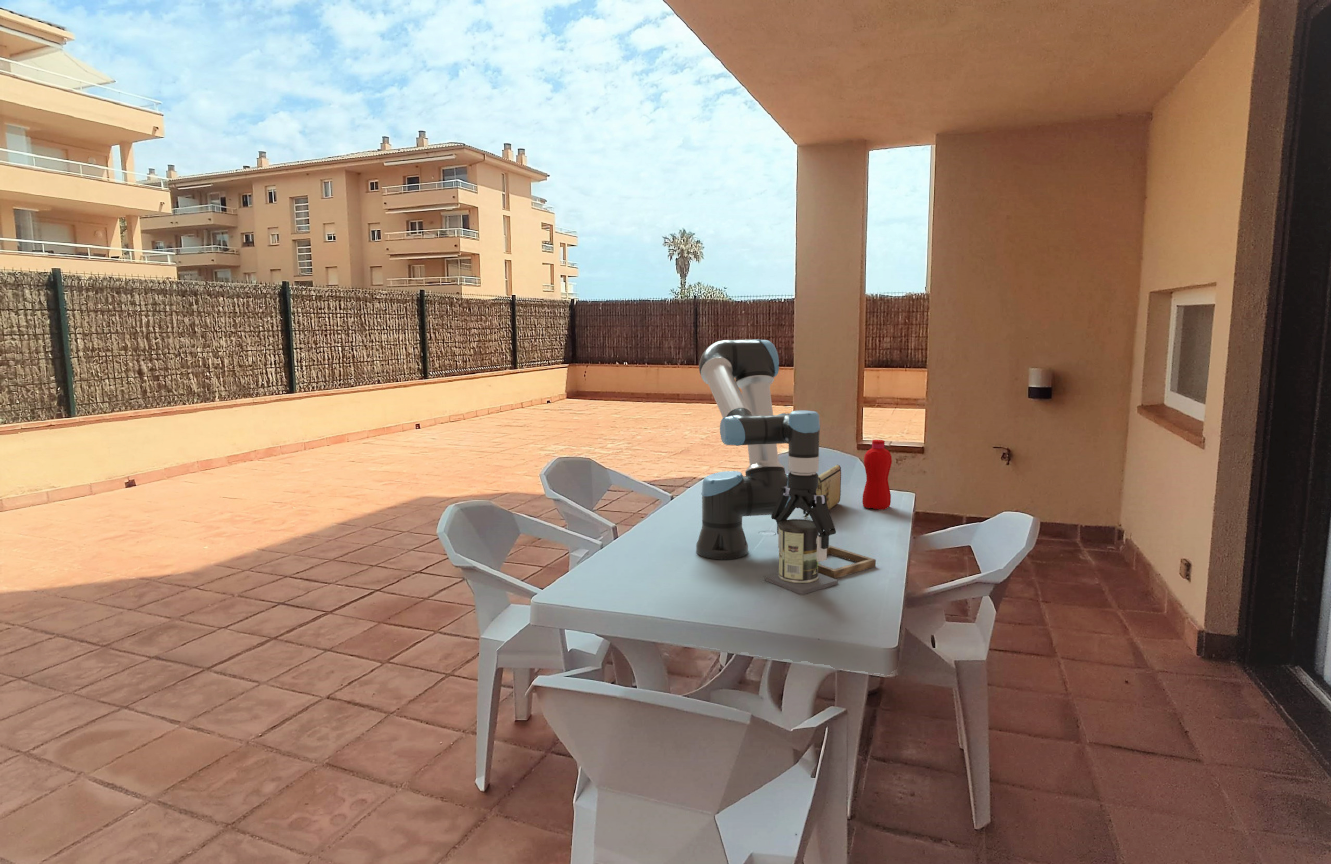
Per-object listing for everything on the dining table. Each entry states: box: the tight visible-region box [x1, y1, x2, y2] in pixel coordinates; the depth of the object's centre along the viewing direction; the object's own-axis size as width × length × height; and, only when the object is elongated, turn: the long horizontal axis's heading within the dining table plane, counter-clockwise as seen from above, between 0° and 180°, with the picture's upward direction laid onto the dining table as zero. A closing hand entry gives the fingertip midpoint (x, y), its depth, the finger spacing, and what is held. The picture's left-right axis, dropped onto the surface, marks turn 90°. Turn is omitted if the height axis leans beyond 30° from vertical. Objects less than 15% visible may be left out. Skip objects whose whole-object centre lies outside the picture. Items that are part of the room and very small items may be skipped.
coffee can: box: [778, 518, 820, 583], centre depth 185 cm, size 10×10×14 cm
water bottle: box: [861, 439, 893, 511], centre depth 263 cm, size 9×11×25 cm
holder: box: [818, 545, 877, 579], centre depth 199 cm, size 16×16×2 cm
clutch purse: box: [802, 464, 842, 515], centre depth 258 cm, size 30×7×15 cm, turn 152°
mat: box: [764, 572, 839, 595], centre depth 185 cm, size 13×13×1 cm
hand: (801, 553), depth 184 cm, fingers open, 13 cm apart
